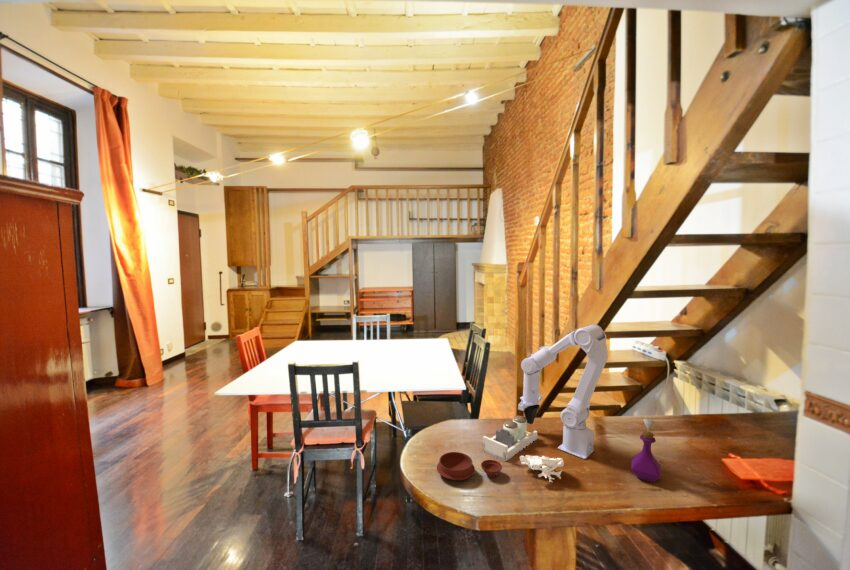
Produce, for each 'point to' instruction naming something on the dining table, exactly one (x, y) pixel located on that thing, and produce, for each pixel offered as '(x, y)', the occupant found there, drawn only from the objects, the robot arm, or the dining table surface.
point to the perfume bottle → (646, 457)
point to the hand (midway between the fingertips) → (529, 423)
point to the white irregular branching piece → (543, 465)
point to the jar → (521, 426)
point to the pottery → (464, 466)
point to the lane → (502, 450)
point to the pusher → (505, 437)
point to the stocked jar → (512, 429)
